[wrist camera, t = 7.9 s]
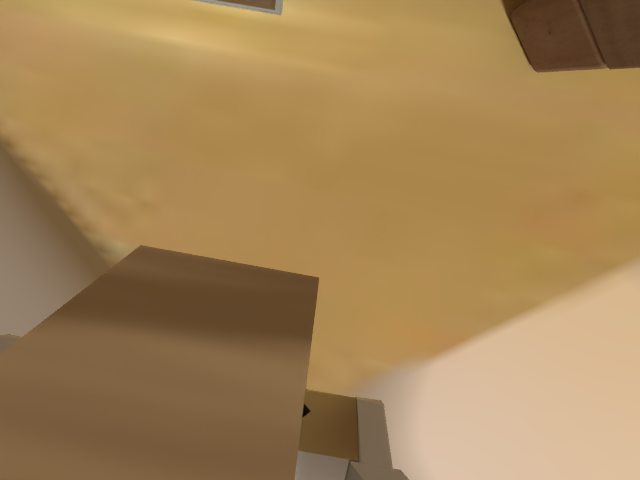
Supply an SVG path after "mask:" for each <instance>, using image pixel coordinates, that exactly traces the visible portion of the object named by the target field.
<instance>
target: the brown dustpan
mask: <svg viewBox="0 0 640 480" xmlns="http://www.w3.org/2000/svg"><path fill="white" fill-rule="evenodd" d="M511 21H512V23H513V25H514V28H515V30H516V32H517V34H518V36H519V39H520V41H521V43H522V45H523V47H524V49H525V52H526V54H527V56H528V58H529V60H530V63H531V65H532V67H533V69H534V70H535V71H536V72H554V71H573V70H591V69H605V68H609V69H624V68H640V0H528V1H526V2H525V3H523V4H522V5H520V6H519V7H517V8H515V9H514V10H513V12H512V13H511Z"/></svg>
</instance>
